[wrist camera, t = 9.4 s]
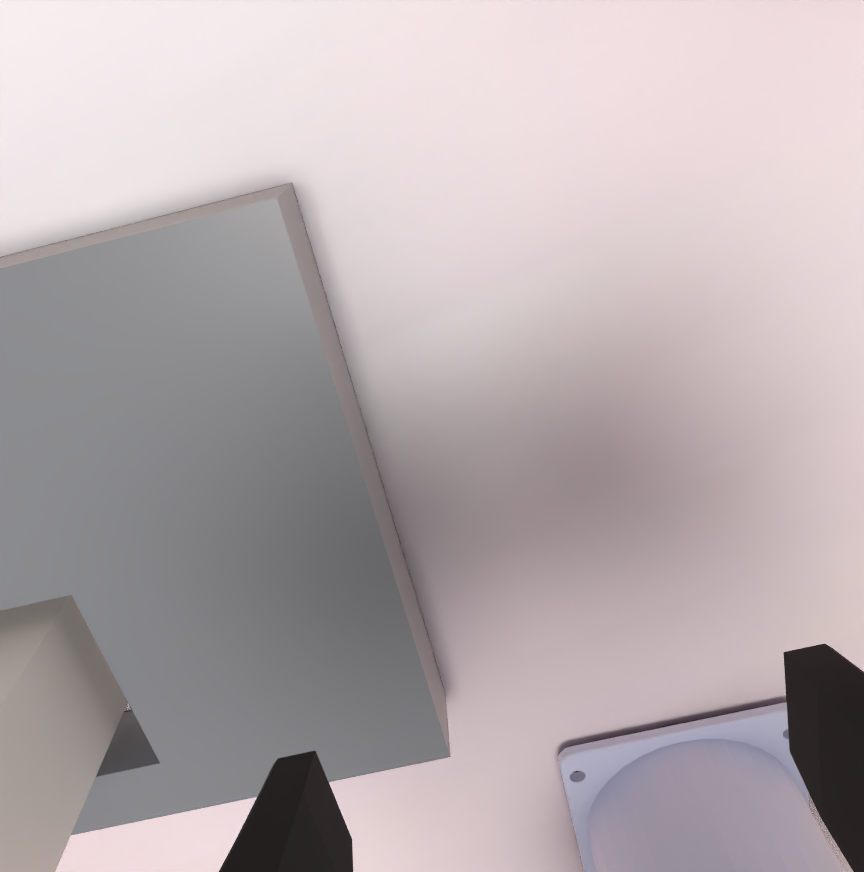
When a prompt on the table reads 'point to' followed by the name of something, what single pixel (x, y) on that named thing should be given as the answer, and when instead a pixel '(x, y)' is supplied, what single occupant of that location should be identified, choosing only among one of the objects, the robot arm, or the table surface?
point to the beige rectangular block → (49, 728)
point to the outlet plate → (208, 507)
